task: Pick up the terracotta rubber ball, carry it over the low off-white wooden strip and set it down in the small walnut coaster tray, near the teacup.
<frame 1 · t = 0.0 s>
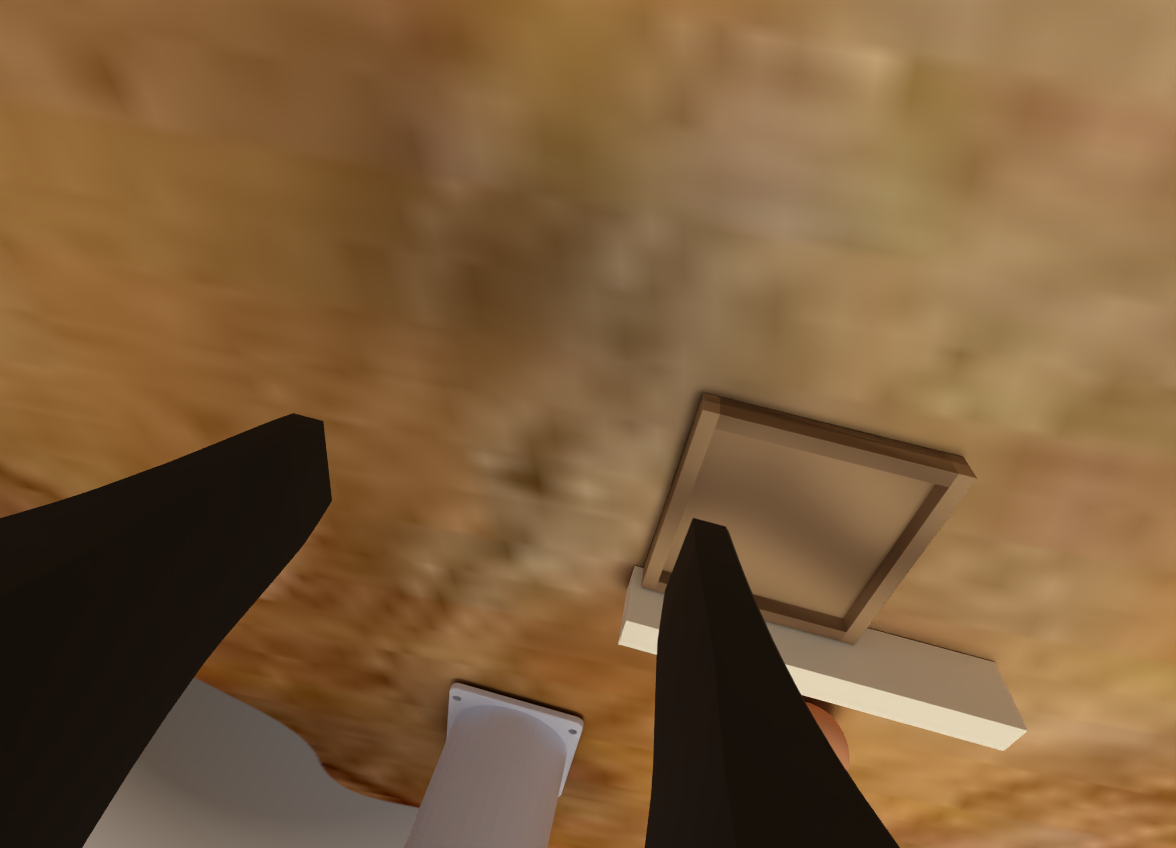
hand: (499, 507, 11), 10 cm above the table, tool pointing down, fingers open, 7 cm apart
ball: (802, 747, 27), point 2 cm above the table
strip: (804, 624, 25), on the table
tray: (783, 518, 22), on the table
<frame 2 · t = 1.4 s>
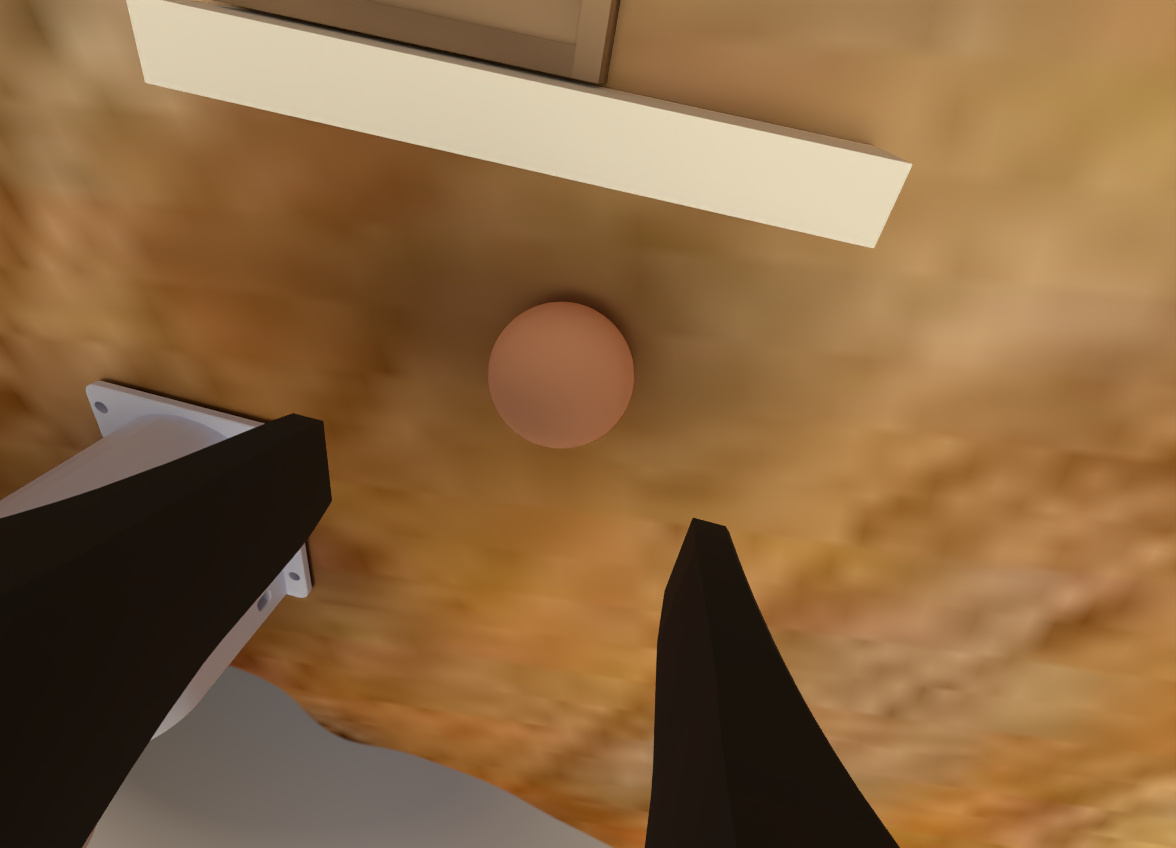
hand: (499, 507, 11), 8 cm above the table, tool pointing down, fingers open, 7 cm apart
ball: (561, 375, 15), point 2 cm above the table
strip: (536, 111, 14), on the table
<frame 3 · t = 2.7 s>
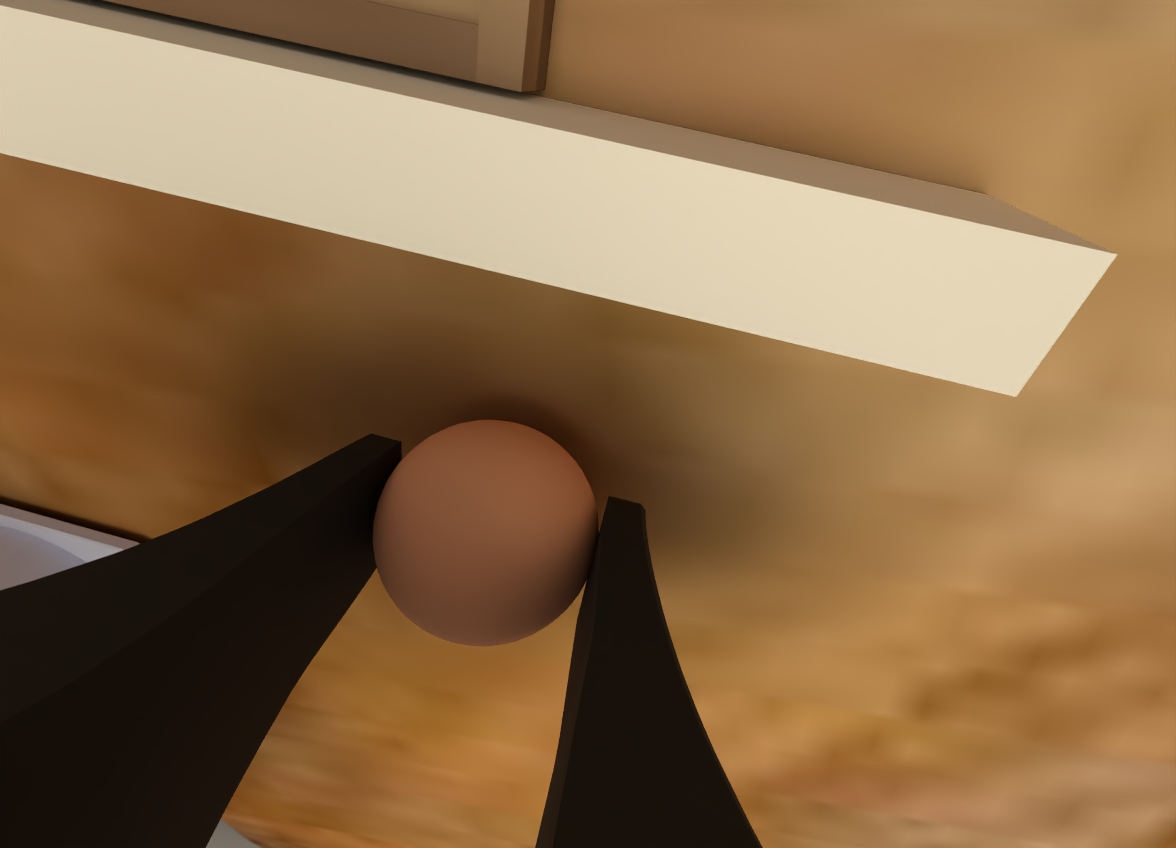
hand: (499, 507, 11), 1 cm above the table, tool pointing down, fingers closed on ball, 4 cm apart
ball: (489, 528, 10), point 2 cm above the table, touching gripper
strip: (437, 133, 9), on the table
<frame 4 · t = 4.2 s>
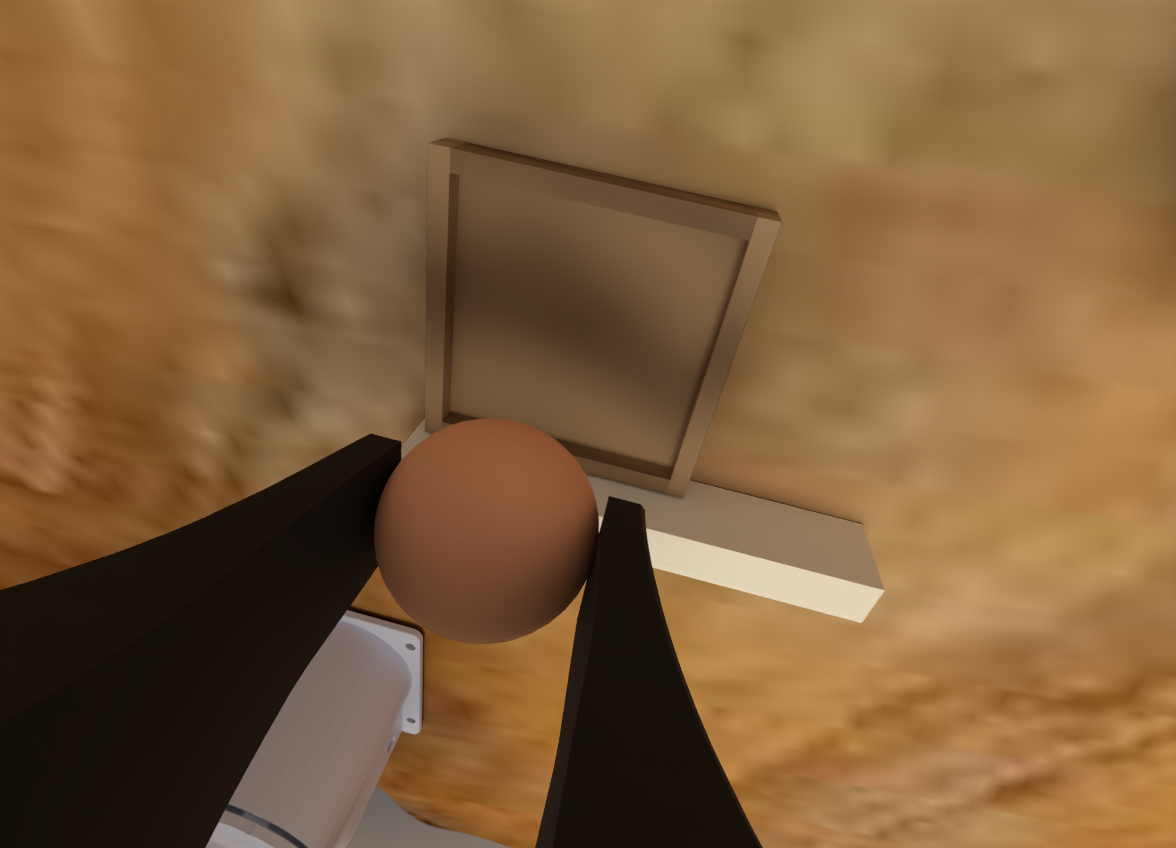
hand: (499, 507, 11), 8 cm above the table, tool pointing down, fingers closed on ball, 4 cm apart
ball: (490, 527, 10), point 9 cm above the table, touching gripper
strip: (635, 484, 21), on the table
tray: (580, 329, 18), on the table
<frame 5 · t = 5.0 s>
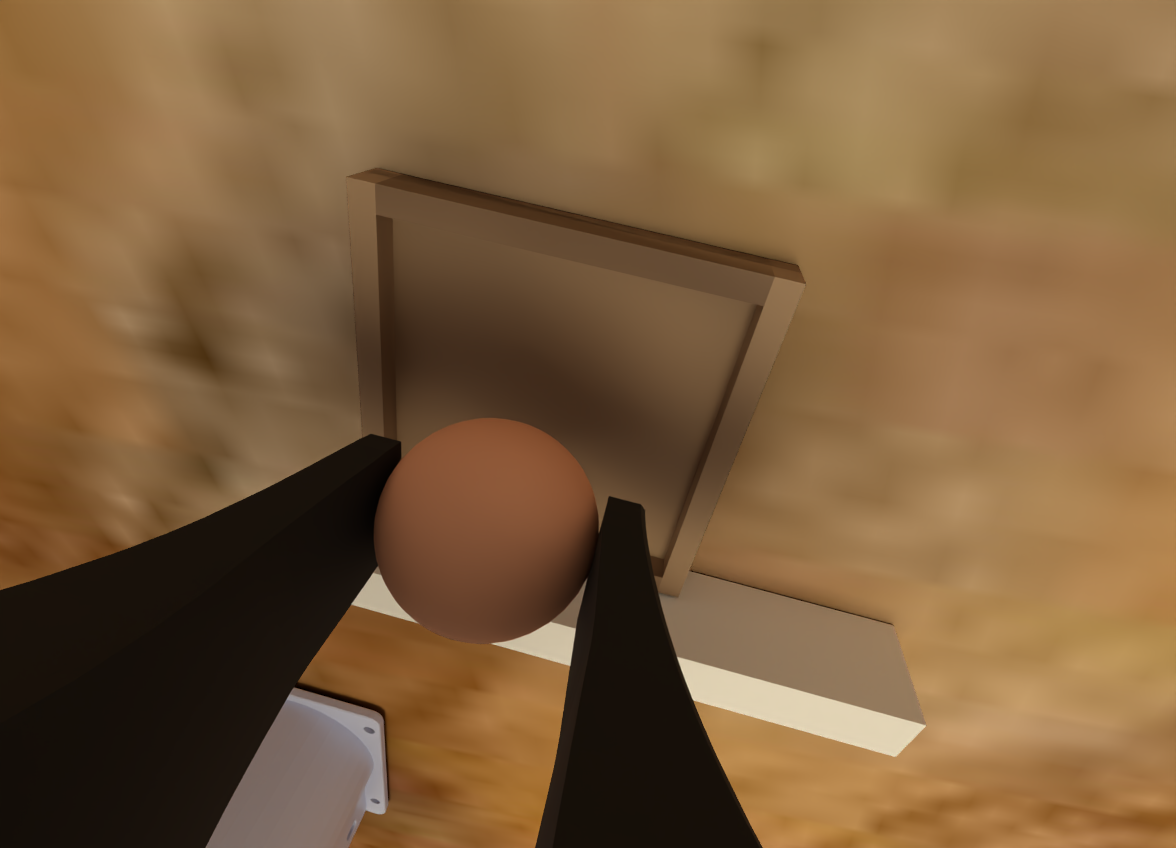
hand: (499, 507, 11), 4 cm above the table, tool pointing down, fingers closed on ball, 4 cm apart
ball: (490, 526, 10), point 5 cm above the table, touching gripper
strip: (621, 572, 17), on the table
tray: (552, 398, 14), on the table
when the fingers open (2 cm above the table, at t = 5.8 s): ball stays where it is, resting on tray.
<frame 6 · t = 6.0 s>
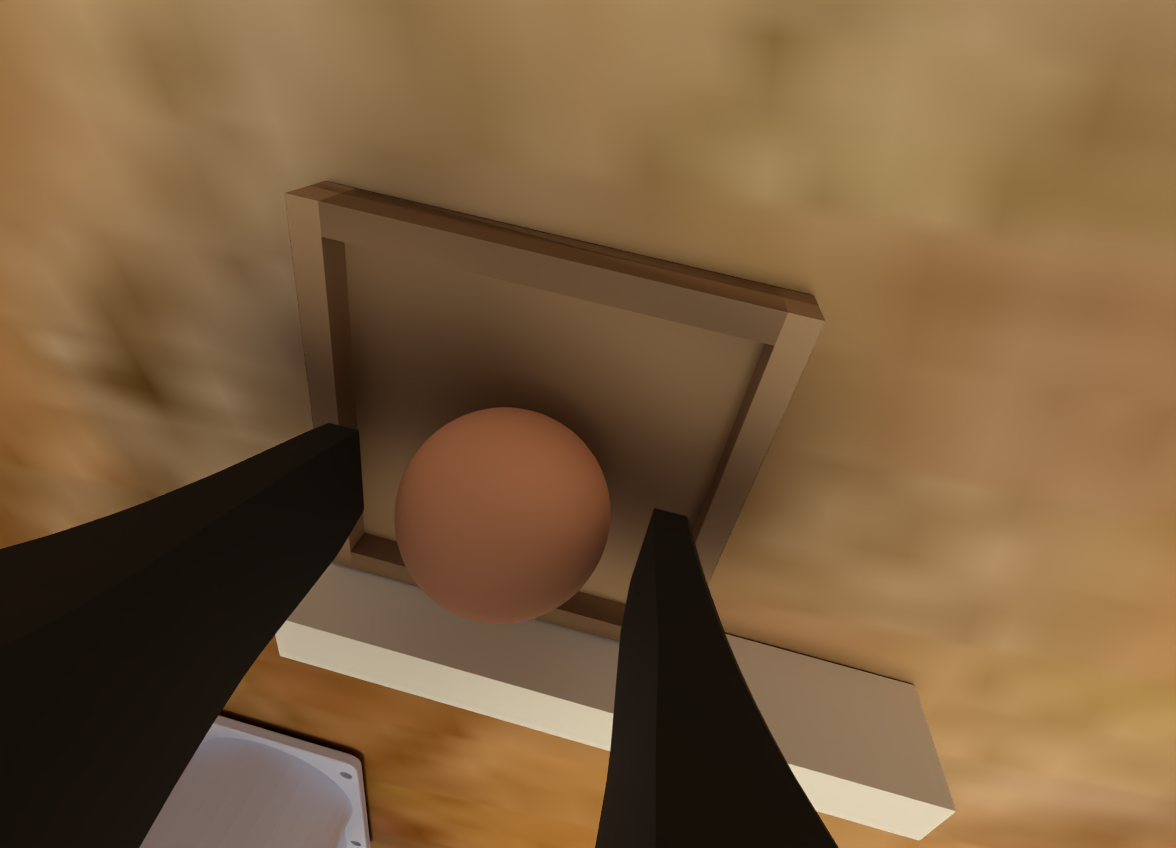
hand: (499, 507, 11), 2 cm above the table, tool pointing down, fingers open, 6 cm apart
ball: (505, 512, 11), point 2 cm above the table, touching tray
strip: (613, 622, 16), on the table
tray: (533, 438, 13), on the table
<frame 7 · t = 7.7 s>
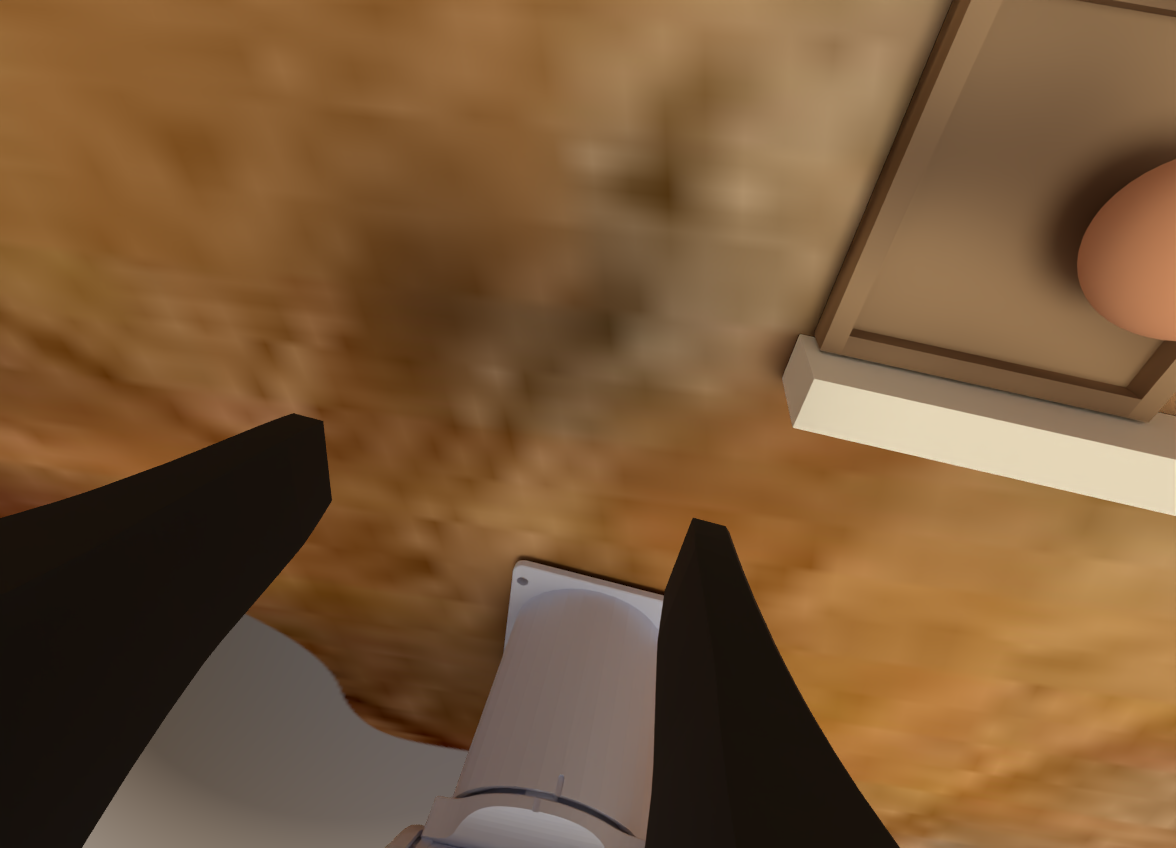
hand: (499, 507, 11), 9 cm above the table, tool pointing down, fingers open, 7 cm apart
strip: (1049, 413, 17), on the table
tray: (1060, 210, 14), on the table
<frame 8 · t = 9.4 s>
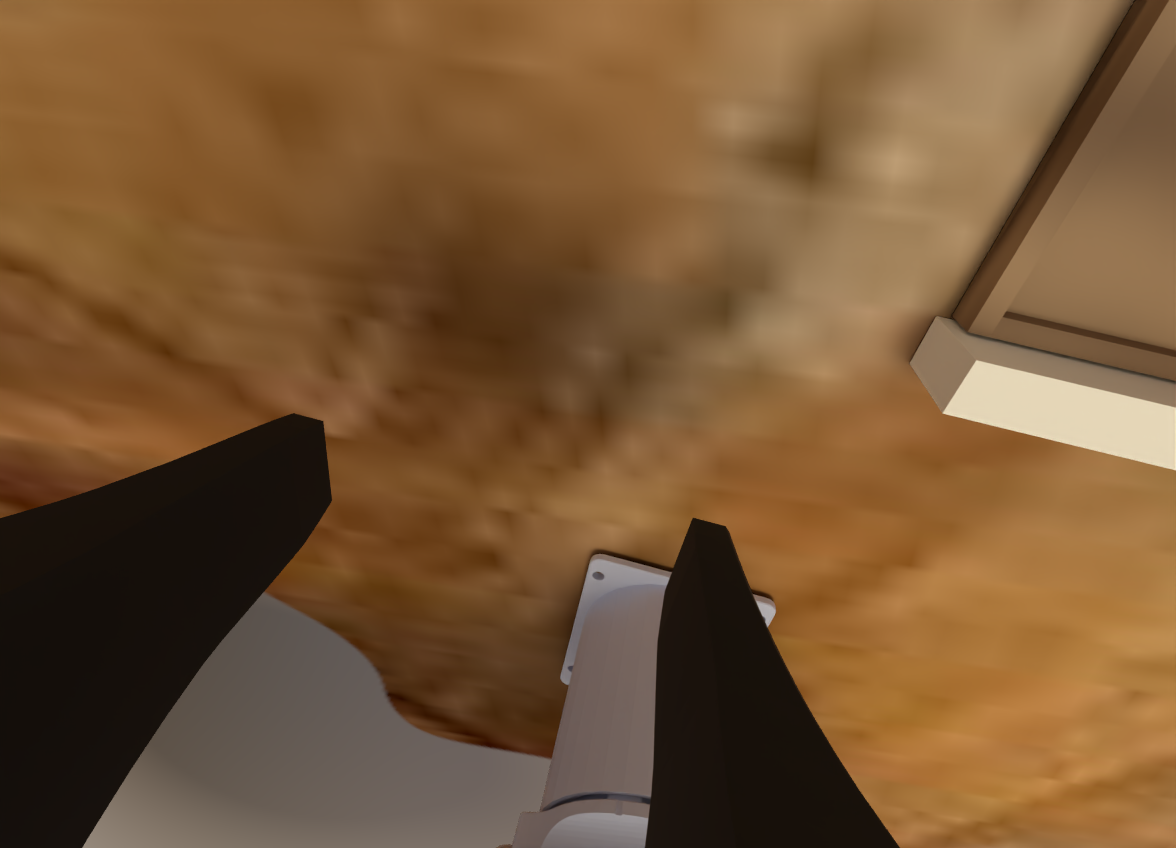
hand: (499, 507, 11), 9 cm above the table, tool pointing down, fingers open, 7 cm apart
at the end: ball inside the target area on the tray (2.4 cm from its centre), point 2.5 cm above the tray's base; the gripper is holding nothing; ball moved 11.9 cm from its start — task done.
